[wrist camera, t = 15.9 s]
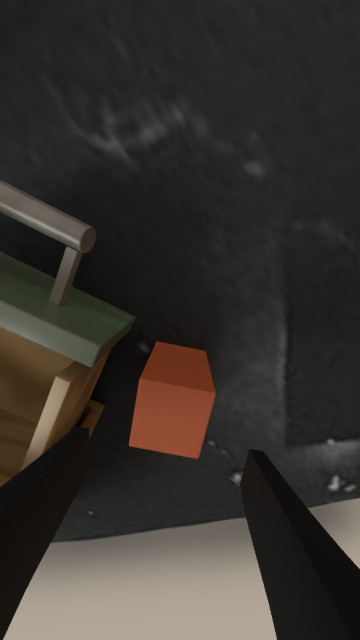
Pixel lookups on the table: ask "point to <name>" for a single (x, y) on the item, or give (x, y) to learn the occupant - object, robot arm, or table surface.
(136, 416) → the block
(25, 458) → the drawer
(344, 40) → the table surface
